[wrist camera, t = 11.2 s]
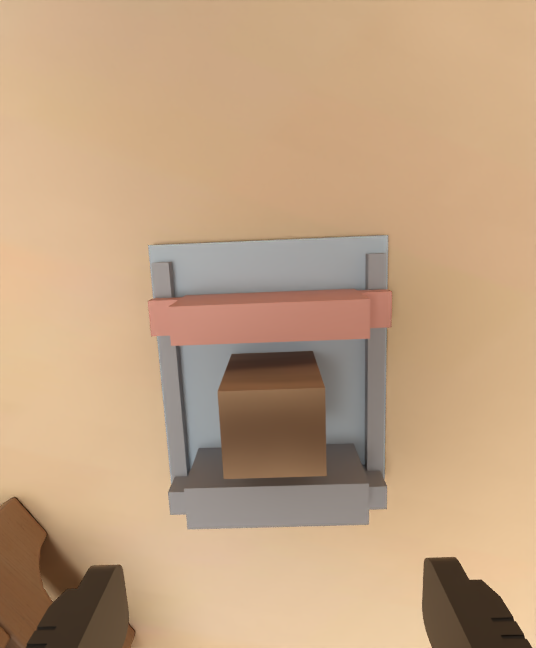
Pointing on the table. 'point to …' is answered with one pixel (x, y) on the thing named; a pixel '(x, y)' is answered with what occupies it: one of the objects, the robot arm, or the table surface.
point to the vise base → (331, 355)
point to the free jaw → (270, 316)
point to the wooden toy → (23, 577)
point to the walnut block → (272, 416)
